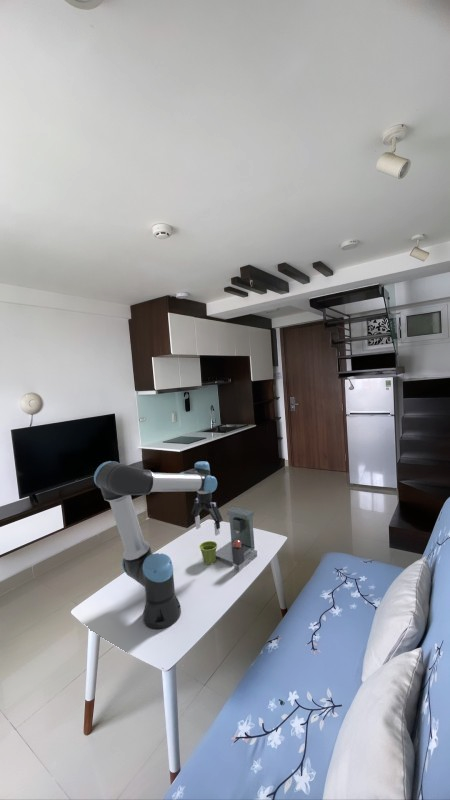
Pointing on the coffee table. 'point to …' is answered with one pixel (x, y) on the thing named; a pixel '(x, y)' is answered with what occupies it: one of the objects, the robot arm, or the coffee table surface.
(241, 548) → the lever
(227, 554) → the frame
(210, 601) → the coffee table surface
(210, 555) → the plant pot
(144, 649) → the coffee table surface
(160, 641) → the coffee table surface
